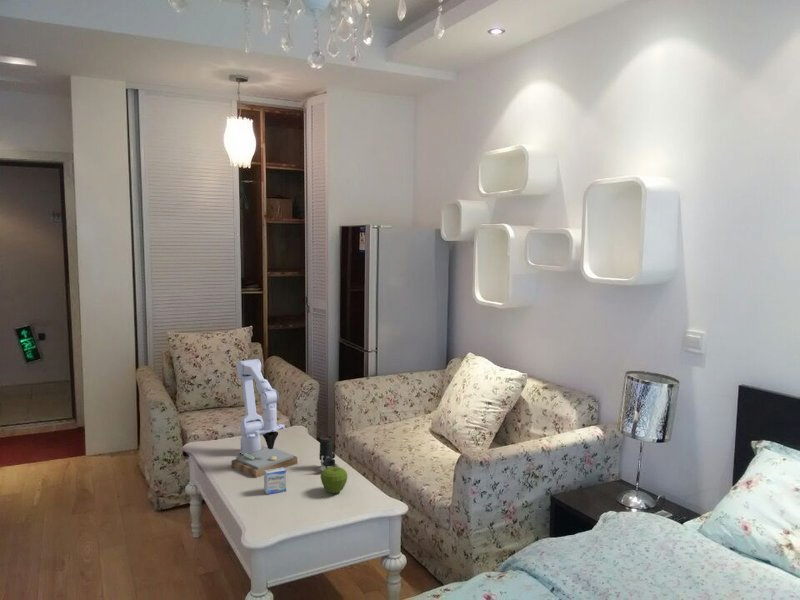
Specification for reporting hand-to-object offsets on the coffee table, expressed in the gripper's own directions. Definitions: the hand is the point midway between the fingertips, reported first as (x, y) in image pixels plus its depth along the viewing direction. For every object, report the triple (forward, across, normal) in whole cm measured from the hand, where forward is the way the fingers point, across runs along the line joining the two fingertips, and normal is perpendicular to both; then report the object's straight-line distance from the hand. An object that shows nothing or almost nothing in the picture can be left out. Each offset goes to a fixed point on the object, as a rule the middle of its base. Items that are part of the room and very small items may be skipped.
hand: (270, 448), depth 265 cm
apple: (+9, +1, -40) cm, 41 cm away
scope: (+9, +15, -20) cm, 26 cm away
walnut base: (+9, 0, +4) cm, 10 cm away
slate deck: (+6, 0, +4) cm, 7 cm away
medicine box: (+9, -14, -22) cm, 27 cm away
